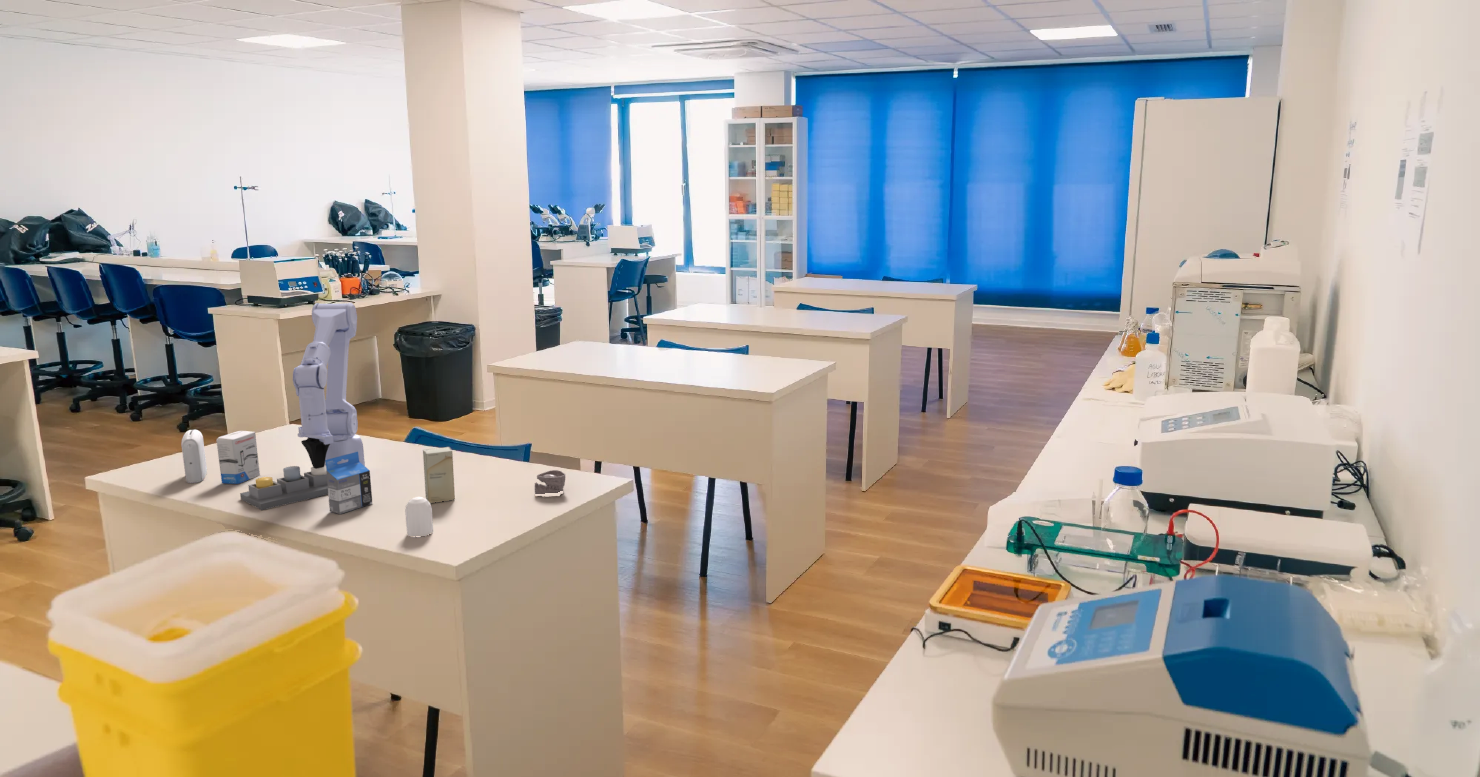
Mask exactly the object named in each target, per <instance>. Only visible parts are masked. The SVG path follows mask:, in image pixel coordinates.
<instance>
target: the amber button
mask: <svg viewBox="0 0 1480 777" xmlns="http://www.w3.org/2000/svg"><path fill="white" fill-rule="evenodd" d="M273 481H274V479H273V477H271V476H264V477H263V476H262V477H258V478H256V479H255V484H256V488H258V489H260V488H265V487H269V486H273Z"/></svg>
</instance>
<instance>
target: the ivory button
mask: <svg viewBox="0 0 1480 777" xmlns="http://www.w3.org/2000/svg"><path fill="white" fill-rule="evenodd" d="M326 471H327V470H326V466H325V465H324V467H322V468H317V469H315V468H313V466H312V467H310V472H311V475H313V476H319V475H323V474H327V472H326Z"/></svg>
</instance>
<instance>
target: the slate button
mask: <svg viewBox="0 0 1480 777" xmlns="http://www.w3.org/2000/svg"><path fill="white" fill-rule="evenodd" d="M282 471H283V477H284V481H286V482H292V481H296V480H300V479H301V475H302V474H301V467H300V466H297V465H292V466H291V465H290V466H286V467H284V468H283V469H282Z"/></svg>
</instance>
